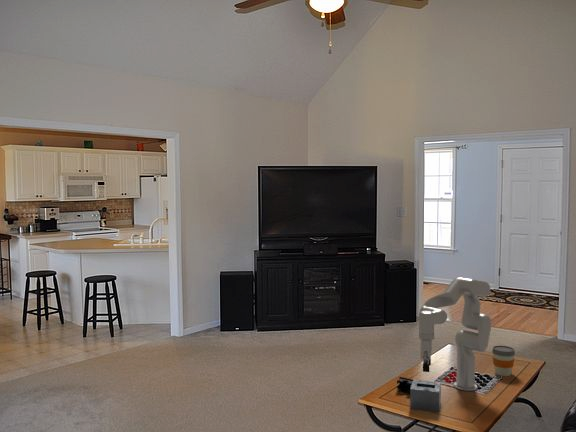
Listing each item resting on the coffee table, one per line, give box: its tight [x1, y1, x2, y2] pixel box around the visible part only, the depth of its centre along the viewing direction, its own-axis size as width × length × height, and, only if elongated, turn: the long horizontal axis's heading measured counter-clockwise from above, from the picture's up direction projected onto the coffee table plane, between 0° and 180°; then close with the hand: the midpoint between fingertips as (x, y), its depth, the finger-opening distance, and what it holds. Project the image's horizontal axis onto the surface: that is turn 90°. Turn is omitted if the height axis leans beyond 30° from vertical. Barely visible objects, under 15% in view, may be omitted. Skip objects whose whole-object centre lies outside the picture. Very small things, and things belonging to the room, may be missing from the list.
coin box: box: [409, 378, 442, 413], centre depth 271 cm, size 14×14×10 cm
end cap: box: [396, 376, 413, 395], centre depth 290 cm, size 10×7×7 cm
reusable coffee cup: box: [491, 345, 516, 377], centre depth 317 cm, size 12×13×15 cm
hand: (426, 368), depth 271 cm, fingers open, 9 cm apart
